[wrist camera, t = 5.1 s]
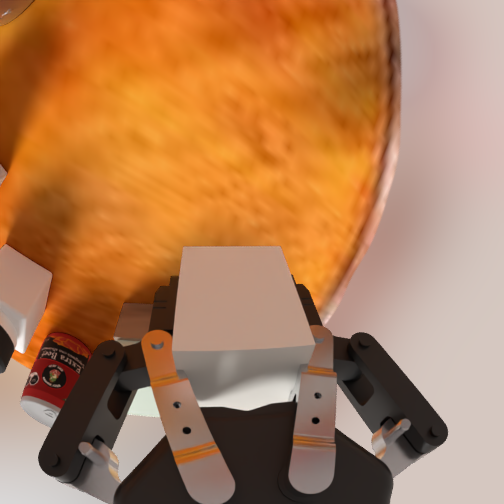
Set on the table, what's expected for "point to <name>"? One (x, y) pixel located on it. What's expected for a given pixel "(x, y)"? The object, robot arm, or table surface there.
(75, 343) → the canned food
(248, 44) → the table surface
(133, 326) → the walnut base block
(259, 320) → the cream block
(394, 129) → the table surface
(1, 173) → the supplement box
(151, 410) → the sage block
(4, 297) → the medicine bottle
